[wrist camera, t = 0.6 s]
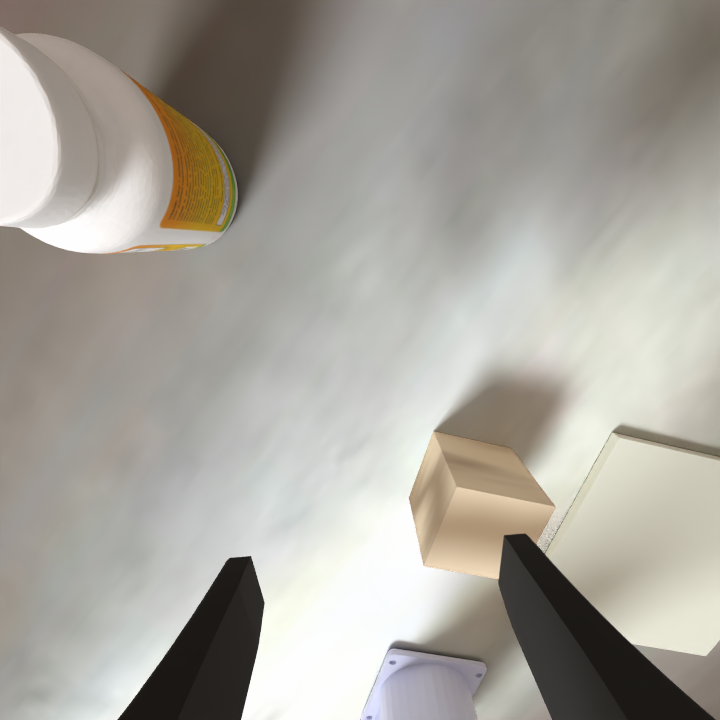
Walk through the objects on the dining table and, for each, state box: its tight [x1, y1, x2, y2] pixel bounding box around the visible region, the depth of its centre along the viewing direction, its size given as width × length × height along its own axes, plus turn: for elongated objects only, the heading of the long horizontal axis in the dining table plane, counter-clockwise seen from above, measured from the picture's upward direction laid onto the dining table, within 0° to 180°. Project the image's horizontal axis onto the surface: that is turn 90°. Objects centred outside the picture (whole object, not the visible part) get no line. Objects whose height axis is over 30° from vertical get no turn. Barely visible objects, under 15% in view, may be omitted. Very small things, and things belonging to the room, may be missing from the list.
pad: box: [545, 432, 720, 656], centre depth 24 cm, size 16×16×1 cm
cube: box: [409, 431, 556, 579], centre depth 19 cm, size 5×5×5 cm
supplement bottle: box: [0, 26, 238, 253], centre depth 12 cm, size 5×5×10 cm
